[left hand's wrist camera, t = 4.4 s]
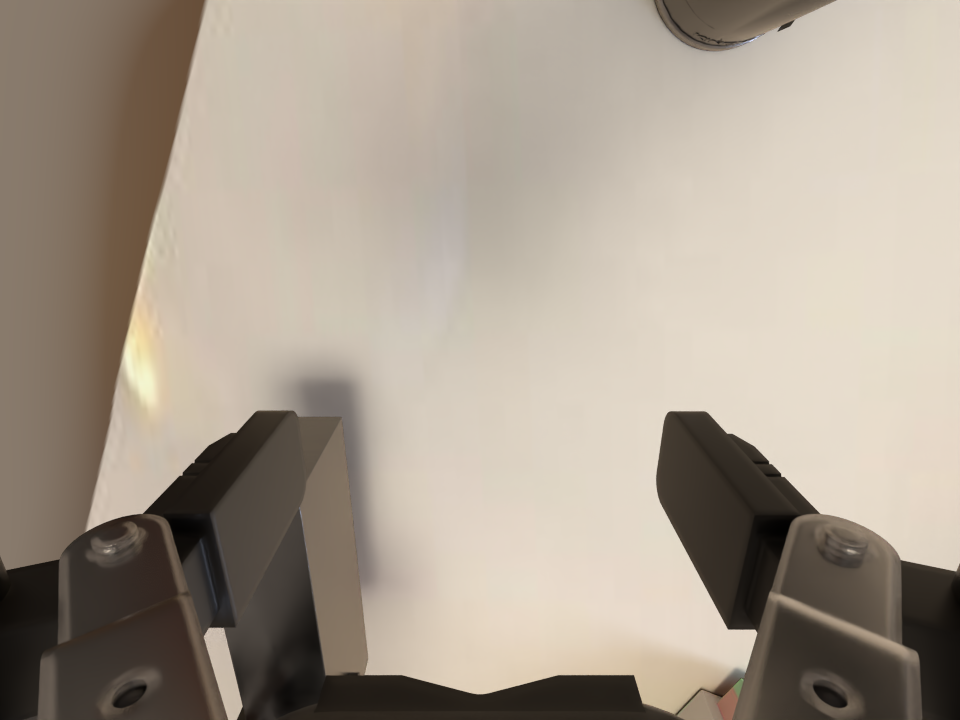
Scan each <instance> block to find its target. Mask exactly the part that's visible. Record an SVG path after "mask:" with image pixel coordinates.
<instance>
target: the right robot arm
mask: <svg viewBox="0 0 960 720" xmlns="http://www.w3.org/2000/svg"><path fill="white" fill-rule="evenodd" d="M349 675H360V672H350V674H349ZM237 720H246V717H245V713H244V709H243V707H242V710H241V712H240V714H239V716H238V719H237Z"/></svg>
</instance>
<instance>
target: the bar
mask: <svg viewBox="0 0 960 720" xmlns="http://www.w3.org/2000/svg"><path fill="white" fill-rule="evenodd" d="M298 420H299V426H300V433H301V440H302V448H303V455H304V462H305V469H306V490H305V495H304V498H303V501H302V503H301V505H300V507H299V509H298V511H297V513H296V515H295V517H294V518H293V520H292V522H291V524H290V526H289V528H288V530H287V532H286V534H285V536H284V537H283V539H282V541H281V543H280V545H279V547H278V549H277V551H276V553H275V554H274V556H273V558H272V560H271V562H270V564H269V566H268V568H267V570H266V571H265V573H264V575H263V577H262V579H261V581H260V583H259V585H258V587H257V589H256V590H255V592H254V594H253V596H252V598H251V600H250V602H249V604H248V606H247V607H246V609H245V611H244V613H243V615H242V617H241V619H240V621H239V623H238V624H237V626H236V628H224V630H225V634H226V638H227V642H228V646H229V651H230V655H231V659H232V663H233V667H234V671H235V675H236V680H237V684H238V688H239V692H240V696H241V700H242V705H243V709H244V713H245V717H246V720H276V719H278V718H280V717H282V716H284V715H286V714H288V713H291V712H293V711H296V710H299V709H301V708H304V707H307V706H310V705H314V704H317V703H318V701H319V697H320V694H321V691H322V687H323V684H324V681H325V677H326V675H349V674H350V672H360V675H364V674H365V670H366V666H367V661H368V653H367V644H366V635H365V626H364V616H363V607H362V598H361V589H360V580H359V571H358V562H357V552H356V543H355V534H354V525H353V516H352V507H351V498H350V489H349V479H348V470H347V461H346V452H345V443H344V434H343V425H342V417H298Z"/></svg>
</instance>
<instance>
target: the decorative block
mask: <svg viewBox="0 0 960 720" xmlns="http://www.w3.org/2000/svg"><path fill="white" fill-rule="evenodd" d="M743 681H744V679H742V678H741V679H740V680H739V681H738V682H737V683H736V684H735V685H734V686H733V687H732V688H731V689H730V690H729V691H728V692H727V693H726V694H725V695H724V696H723V697H719V696H717V695H714V694H712V693H709V692H707V691H704V690H701V691H700V692H699V693H698V694H697V695H696V696H695V697H694V698H693V699H692V700H691V701H690V702H689V703H688V704H687V705H686V706H685V707H684V708H683V709H682V710H681V711H680V712H679V713H678V715H677V716H678V717H680V718H682V719H684V720H732V718H733V715H734V711H735V708H736V705H737V701H738V698H739V694H740V691H741V688H742V684H743Z"/></svg>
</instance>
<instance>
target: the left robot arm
mask: <svg viewBox="0 0 960 720" xmlns="http://www.w3.org/2000/svg"><path fill="white" fill-rule="evenodd" d="M834 1H836V0H655V2H656V5H657V8H658V11H659V13H660V15H661V17H662V19H663V21H664V22H665V24H666V25H667V27H668V28H669V29H670V30H671V32H672V33H673V34H674V35H675V36H676V37H678V38H679V39H680V40H682V41H683V42H685V43H686V44H688V45H690V46H692V47H695V48H698V49H702V50H707V51H722V50H728V49H732V48H736V47H738V46H741V45H744V44H746V43H748V42H750V41H752V40H754V39H756V38H758V37H759V36H761V35H763V34H765V33H766V32H768V31H770V30H773V29H775V28H777V27H780V26H781V27H780V28H779V30H778V31H780V30H783V29H785V28H787V27H789V26H791V24H792V23H793V22H794V20H795V19H797V18H799V17H801V16H803V15H806V14H808V13H810V12H812V11H814V10H817V9H819V8H821V7H823V6H825V5H827V4H830V3H832V2H834ZM778 31H777V32H778ZM656 485H657V492H658V497H659V500H660V503H661V505H662V507H663V509H664V510H665V512H666V514H667V516H668V518H669V520H670V522H671V524H672V525H673V527H674V529H675V531H676V533H677V535H678V537H679V539H680V540H681V542H682V544H683V546H684V548H685V550H686V552H687V553H688V555H689V557H690V559H691V561H692V563H693V565H694V567H695V568H696V570H697V572H698V574H699V576H700V578H701V580H702V582H703V583H704V585H705V587H706V589H707V591H708V593H709V595H710V596H711V598H712V600H713V602H714V604H715V606H716V608H717V610H718V611H719V613H720V615H721V617H722V619H723V621H724V623H725V625H726V626H727V628H728V629H755V630H756V631H757V637H756V640H755V644H754V647H753V650H752V654H751V657H750V660H749V664H748V667H747V671H746V674H745V677H744V681H743V684H742V688H741V691H740V694H739V698H738V701H737V705H736V708H735V711H734V715H733V718H732V720H960V564H959V567H958V569H957V571H956V572H955V571H950V570H946V569H941V568H936V567H931V566H926V565H921V564H916V563H911V562H907V561H902V560H900V557H899V555H898V553H897V552H896V551H895V549H894V548H893V547H892V546H891V545H890V544H889V543H888V542H887V541H886V540H884V539H883V538H882V537H881V536H879V535H878V534H876V533H874V532H873V531H871V530H869V529H867V528H865V527H864V526H861V525H859V524H857V523H854V522H852V521H849V520H846V519H843V518H839V517H835V516H830V515H823V514H820V513H819V512H818V511H817V510H816V509H815V508H814V507H813V506H812V505H811V504H810V503H809V502H808V501H807V500H806V499H805V498H804V497H803V496H802V495H801V494H800V493H799V492H798V491H797V490H796V489H795V488H794V487H793V486H792V484H791V483H790V482H789V481H788V480H787V479H786V478H785V477H781V473H780V472H779V471H778V470H777V469H776V468H775V467H774V466H773V465H772V464H769V461H768V460H767V459H766V458H765V457H764V456H763V455H762V454H761V453H760V452H759V451H758V450H757V449H756V448H755V447H754V446H753V445H751V444H749V443H747V442H746V441H744V440H742V439H740V438H739V437H737V436H735V435H733V434H727V433H726V432H725V431H724V430H723V429H722V428H721V427H720V426H719V425H718V424H717V422H716V421H715V420H714V419H713V418H712V417H711V416H710V415H709V414H708V413H707V412H704V411H670V412H668V413H667V415H666V417H665V420H664V426H663V433H662V440H661V446H660V453H659V460H658V467H657V475H656ZM305 490H306V469H305V462H304V455H303V448H302V440H301V433H300V426H299V420H298V417H297V414H296V413H295V412H294V411H256V412H255V413H254V414H253V415H252V416H251V417H250V419H249V420H248V421H247V422H246V423H245V424H244V425H243V426H242V427H241V428H240V430H239V431H238V432H237V433H230V434H228V435H227V436H225V437H223V438H221V439H220V440H218V441H216V442H214V443H213V444H211V445H209V446H208V447H207V448H206V449H205V450H204V451H203V452H202V453H201V454H200V455H199V456H198V457H197V458H196V459H195V463H192V464H191V465H190V466H189V467H188V468H187V469H186V470H185V471H184V472H183V475H182V476H179V477H178V478H177V479H176V480H175V481H174V482H173V483H172V484H171V485H170V486H169V487H168V488H167V489H166V490H165V492H164V493H163V494H162V495H161V496H160V497H159V498H158V499H157V500H156V501H155V502H154V503H153V504H152V505H151V506H150V507H149V508H148V509H147V510H146V511H145V512H144V513H143V514H137V515H130V516H125V517H121V518H117V519H114V520H111V521H108V522H106V523H103V524H101V525H99V526H96V527H95V528H93V529H91V530H89V531H87V532H86V533H84V534H82V535H81V536H79V537H78V538H77V539H76V540H74V541H73V542H72V543H71V544H70V545H69V546H68V547H67V548H66V549H65V551H64V552H63V553H62V555H61V557H60V559H59V560H55V561H50V562H45V563H40V564H35V565H30V566H25V567H20V568H16V569H11V570H6V569H5V567H4V564H3V562H2V560H1V557H0V720H228V718H227V715H226V711H225V708H224V705H223V701H222V698H221V694H220V691H219V688H218V684H217V681H216V677H215V674H214V671H213V667H212V664H211V660H210V657H209V654H208V650H207V647H206V644H205V640H204V635H205V633H206V632H207V630H208V628H236V626H237V624H238V623H239V621H240V619H241V617H242V615H243V613H244V611H245V609H246V607H247V606H248V604H249V602H250V600H251V598H252V596H253V594H254V592H255V590H256V589H257V587H258V585H259V583H260V581H261V579H262V577H263V575H264V573H265V571H266V570H267V568H268V566H269V564H270V562H271V560H272V558H273V556H274V554H275V553H276V551H277V549H278V547H279V545H280V543H281V541H282V539H283V537H284V536H285V534H286V532H287V530H288V528H289V526H290V524H291V522H292V520H293V518H294V517H295V515H296V513H297V511H298V509H299V507H300V505H301V503H302V501H303V498H304V495H305ZM276 720H684V719H682V718H680V717H678V716H676V715H674V714H672V713H669V712H667V711H664V710H661V709H659V708H656V707H653V706H650V705H646V704H643V703H642V701H641V697H640V694H639V691H638V687H637V684H636V681H635V677H634V675H558V676H554V677H550V678H546V679H542V680H538V681H535V682H531V683H527V684H523V685H519V686H515V687H511V688H508V689H504V690H500V691H496V692H492V693H488V694H472V693H468V692H464V691H460V690H456V689H452V688H448V687H445V686H441V685H437V684H433V683H429V682H425V681H422V680H418V679H414V678H410V677H406V676H402V675H326V677H325V681H324V684H323V687H322V691H321V694H320V697H319V701H318V703H317V704H314V705H310V706H307V707H304V708H301V709H299V710H296V711H293V712H291V713H288V714H286V715H284V716H282V717H280V718H278V719H276Z"/></svg>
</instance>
